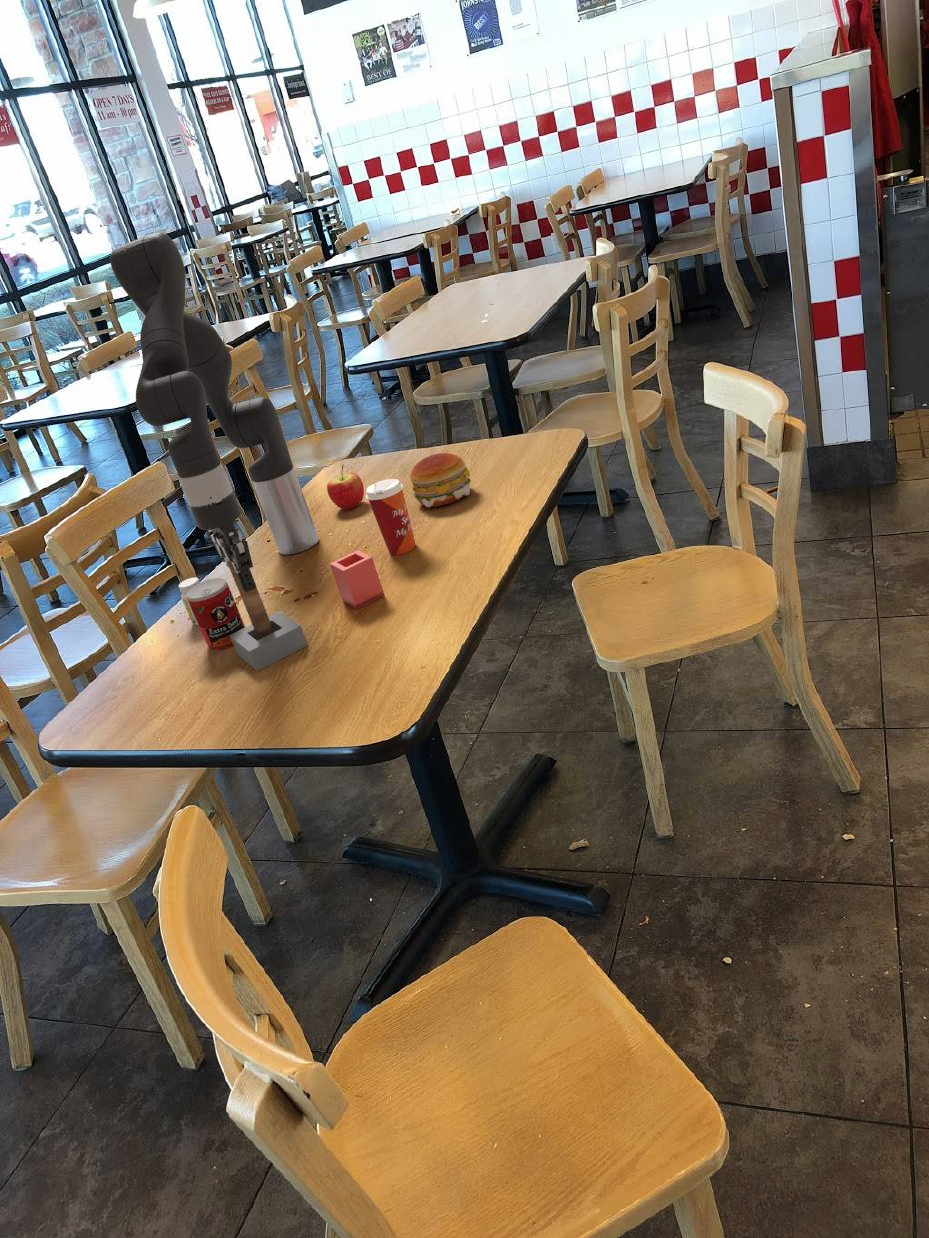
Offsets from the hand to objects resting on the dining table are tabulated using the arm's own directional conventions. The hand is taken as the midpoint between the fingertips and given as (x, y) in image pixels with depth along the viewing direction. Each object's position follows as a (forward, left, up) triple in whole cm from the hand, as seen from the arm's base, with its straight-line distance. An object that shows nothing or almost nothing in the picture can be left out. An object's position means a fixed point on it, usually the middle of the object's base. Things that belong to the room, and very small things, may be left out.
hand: (246, 587), depth 170 cm
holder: (0, 0, -13) cm, 13 cm away
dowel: (0, 0, -9) cm, 9 cm away
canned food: (-13, -4, -13) cm, 19 cm away
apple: (-51, +42, -13) cm, 67 cm away
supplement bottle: (-27, -4, -13) cm, 30 cm away
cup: (-2, +20, -13) cm, 24 cm away
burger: (-30, +56, -13) cm, 65 cm away
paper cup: (-15, +36, -13) cm, 41 cm away
